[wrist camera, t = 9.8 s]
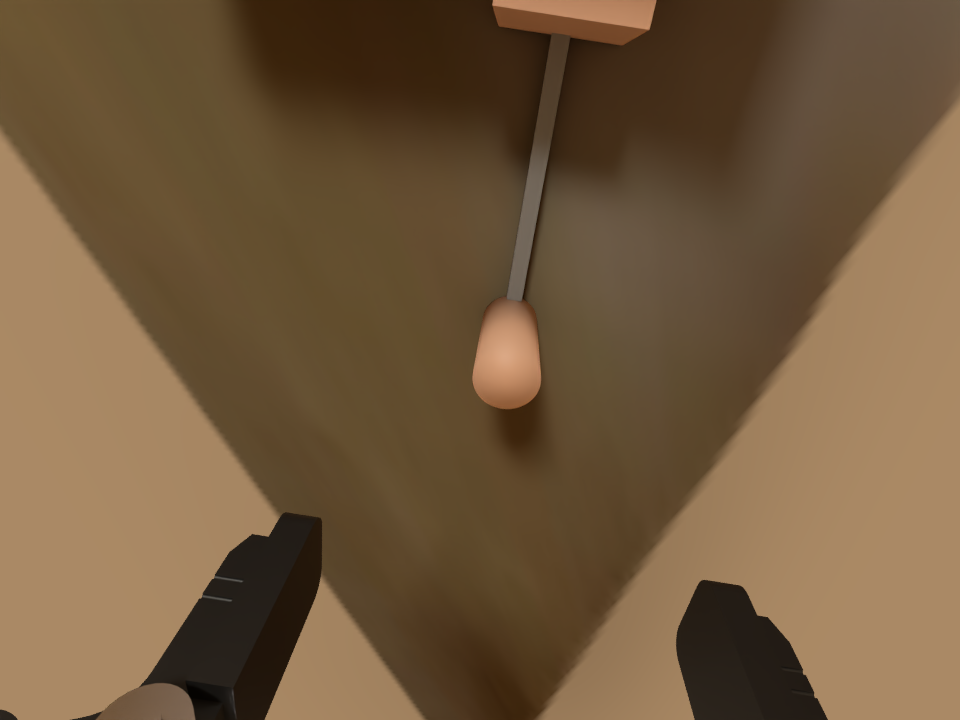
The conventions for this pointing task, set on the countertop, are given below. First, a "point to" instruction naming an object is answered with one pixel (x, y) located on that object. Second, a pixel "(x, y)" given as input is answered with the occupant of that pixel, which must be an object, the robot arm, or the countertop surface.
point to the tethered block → (540, 185)
